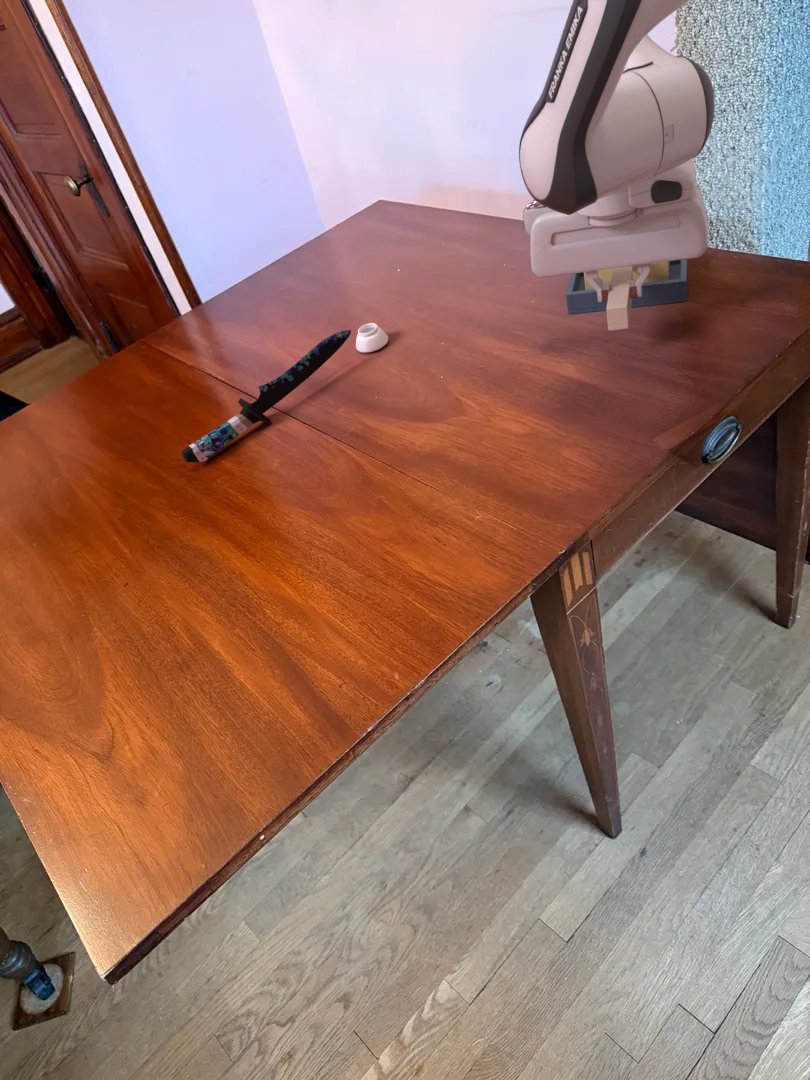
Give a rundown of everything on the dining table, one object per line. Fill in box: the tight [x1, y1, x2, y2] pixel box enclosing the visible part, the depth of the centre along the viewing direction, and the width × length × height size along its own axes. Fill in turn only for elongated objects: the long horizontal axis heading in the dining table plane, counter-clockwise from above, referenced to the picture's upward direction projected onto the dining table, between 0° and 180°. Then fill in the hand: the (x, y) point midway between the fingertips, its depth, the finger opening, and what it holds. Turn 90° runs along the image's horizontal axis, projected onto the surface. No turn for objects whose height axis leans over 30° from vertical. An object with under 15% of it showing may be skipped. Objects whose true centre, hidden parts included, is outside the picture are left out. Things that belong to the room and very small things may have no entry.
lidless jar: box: [355, 322, 389, 353], centre depth 113 cm, size 5×3×5 cm
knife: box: [180, 329, 352, 463], centre depth 105 cm, size 31×3×4 cm, turn 126°
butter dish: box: [565, 259, 688, 315], centre depth 105 cm, size 16×11×3 cm
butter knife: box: [605, 266, 633, 331], centre depth 97 cm, size 23×2×3 cm, turn 164°
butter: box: [584, 261, 670, 290], centre depth 104 cm, size 11×5×4 cm, turn 74°
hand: (620, 297), depth 93 cm, fingers closed on butter knife, 2 cm apart
